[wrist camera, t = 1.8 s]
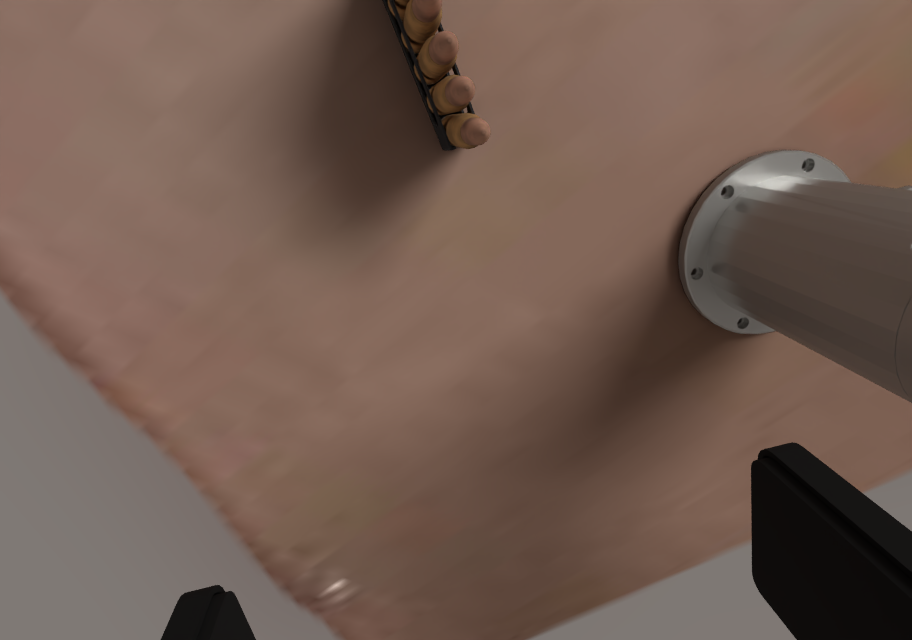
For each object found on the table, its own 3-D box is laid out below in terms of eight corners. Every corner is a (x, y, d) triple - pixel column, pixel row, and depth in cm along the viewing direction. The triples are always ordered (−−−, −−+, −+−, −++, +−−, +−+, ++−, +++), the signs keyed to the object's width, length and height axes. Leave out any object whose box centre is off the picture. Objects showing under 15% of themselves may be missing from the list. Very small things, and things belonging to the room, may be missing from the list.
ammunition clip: (366, -40, 30) (354, -140, 18) (398, -54, 30) (404, -162, 18) (443, 151, 33) (471, 164, 22) (471, 138, 33) (513, 146, 22)
